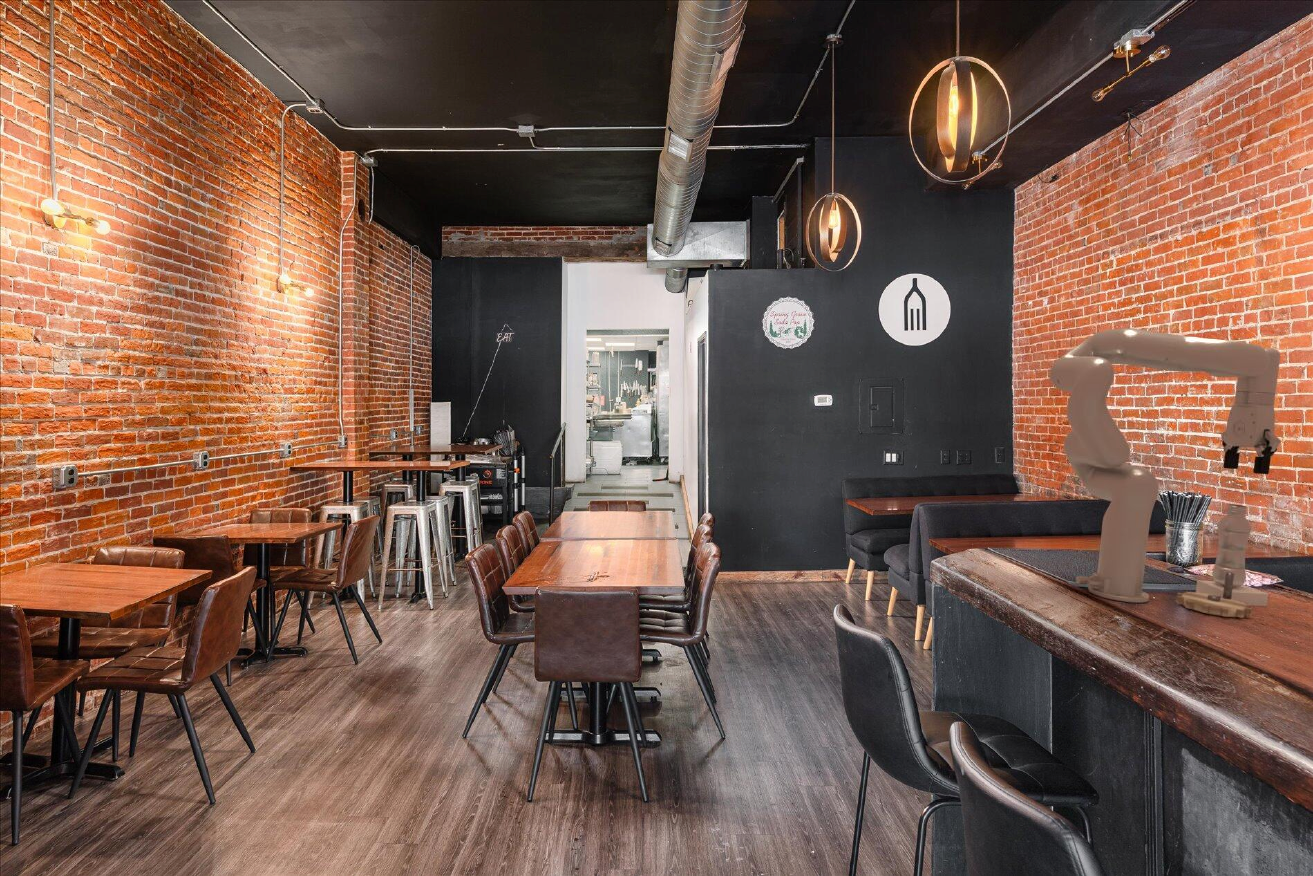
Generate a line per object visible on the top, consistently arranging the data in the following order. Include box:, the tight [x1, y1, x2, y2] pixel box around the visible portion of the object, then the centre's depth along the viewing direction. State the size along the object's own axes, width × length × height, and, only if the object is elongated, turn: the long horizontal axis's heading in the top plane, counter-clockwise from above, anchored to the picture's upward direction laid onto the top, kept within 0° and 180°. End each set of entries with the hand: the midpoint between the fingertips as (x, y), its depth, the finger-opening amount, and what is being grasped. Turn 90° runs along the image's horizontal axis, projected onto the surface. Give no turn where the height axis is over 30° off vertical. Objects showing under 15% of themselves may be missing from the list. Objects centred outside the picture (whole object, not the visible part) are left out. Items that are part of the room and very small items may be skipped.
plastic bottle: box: [1211, 503, 1252, 586], centre depth 185 cm, size 6×7×20 cm
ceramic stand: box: [1195, 579, 1270, 607], centre depth 185 cm, size 10×10×3 cm
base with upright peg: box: [1175, 572, 1253, 619], centre depth 174 cm, size 14×14×8 cm
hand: (1245, 471), depth 182 cm, fingers open, 9 cm apart
